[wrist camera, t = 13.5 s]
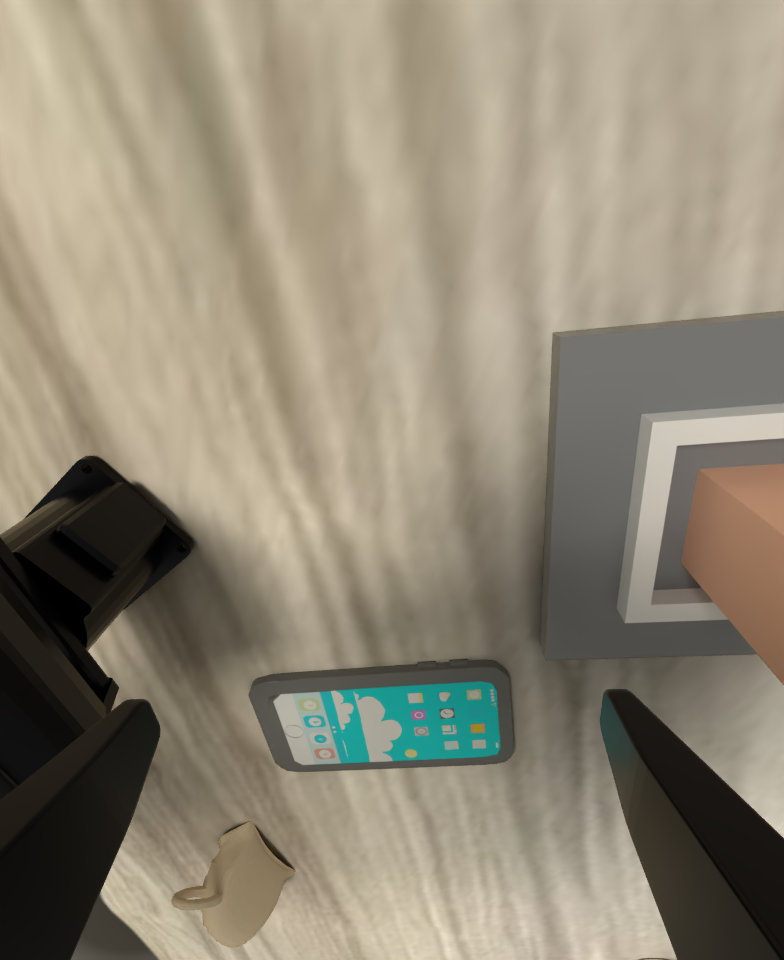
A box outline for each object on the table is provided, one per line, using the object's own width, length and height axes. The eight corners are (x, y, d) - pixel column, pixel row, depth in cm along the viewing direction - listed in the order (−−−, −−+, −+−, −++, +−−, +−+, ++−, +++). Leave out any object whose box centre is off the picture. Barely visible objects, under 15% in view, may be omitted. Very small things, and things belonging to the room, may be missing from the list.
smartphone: (241, 682, 27) (508, 665, 25) (247, 669, 28) (505, 651, 26) (279, 777, 30) (515, 768, 29) (283, 762, 31) (512, 752, 30)
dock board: (539, 642, 25) (550, 676, 23) (552, 332, 18) (568, 341, 16) (867, 632, 24) (908, 666, 22) (1012, 289, 17) (1091, 293, 15)
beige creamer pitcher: (251, 878, 37) (225, 970, 32) (195, 817, 34) (157, 909, 29) (296, 870, 36) (277, 964, 32) (242, 807, 33) (212, 901, 28)
